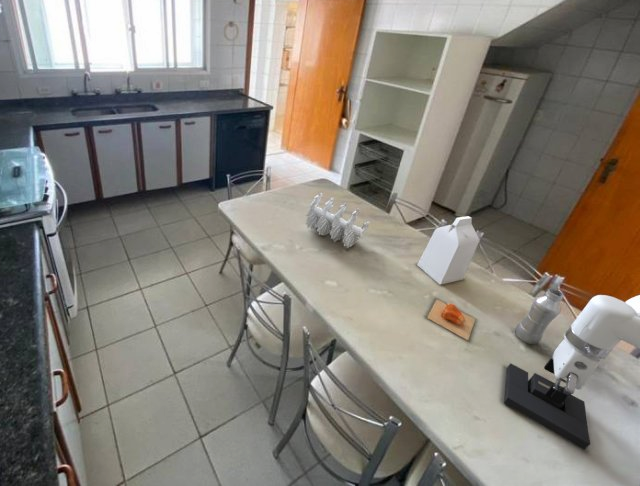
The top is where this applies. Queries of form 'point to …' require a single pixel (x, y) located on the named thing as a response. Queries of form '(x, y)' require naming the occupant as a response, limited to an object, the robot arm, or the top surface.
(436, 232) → the milk
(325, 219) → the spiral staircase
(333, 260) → the top surface
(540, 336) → the plastic bottle
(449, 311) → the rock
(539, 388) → the dark grey square block
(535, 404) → the dark grey u-shaped block
